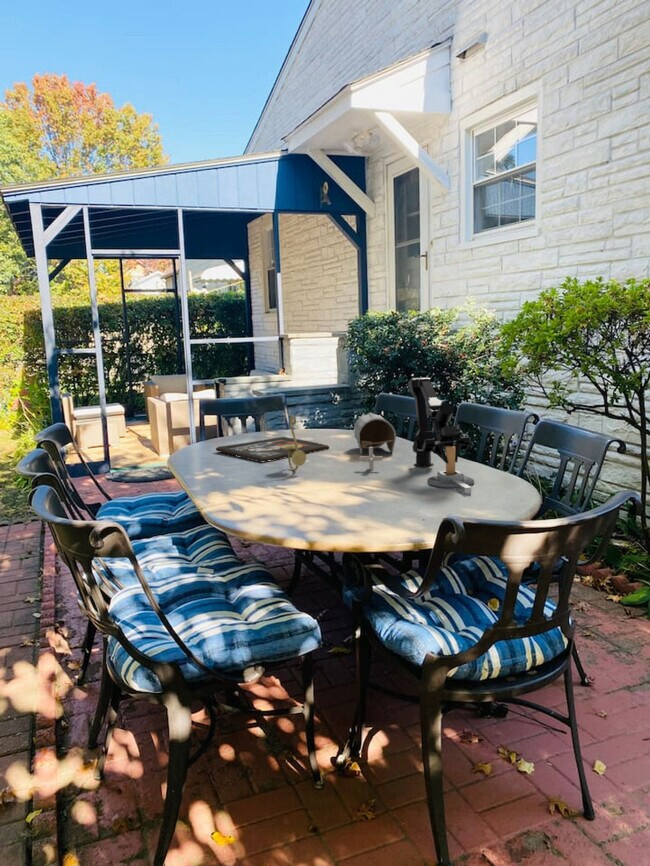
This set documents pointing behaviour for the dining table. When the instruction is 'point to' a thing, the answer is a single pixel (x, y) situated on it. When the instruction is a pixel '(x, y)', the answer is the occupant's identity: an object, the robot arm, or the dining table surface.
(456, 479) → the rosette plate
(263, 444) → the religious icon
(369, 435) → the helmet
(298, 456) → the wall sconce
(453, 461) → the pin
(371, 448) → the pipe connector
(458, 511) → the dining table surface
